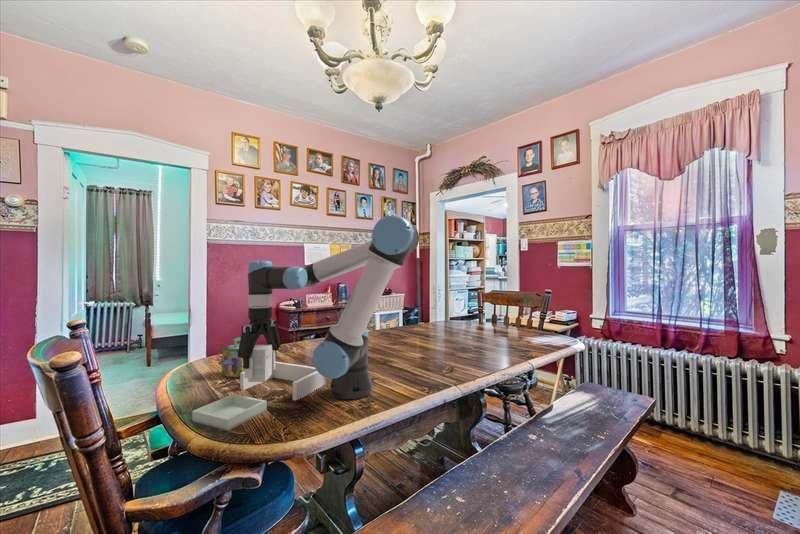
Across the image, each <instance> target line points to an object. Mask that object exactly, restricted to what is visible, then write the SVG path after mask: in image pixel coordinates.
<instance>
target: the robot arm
mask: <svg viewBox="0 0 800 534" xmlns="http://www.w3.org/2000/svg"><path fill="white" fill-rule="evenodd" d="M419 241H420V233H419V231H418V229H417V227H416V226H415V225H414V224H413V223H411V222H410V221H409V220H408V219H406V218H405V217H402V216H400V215H394V214H391V215H386V216H383V217H382V218H380V219H379V220H378V221H377V222H376V223H375V225H374V227H373V228H372V233H371V240H369V241H366V242H364V243H361V244H358V245H356V246H354V247H350V248H348V249H346V250H343V251H340V252H338V253H335V254H333V255H330V256H328V257H326V258H322V259H320V260H317V261H315V262H313V263H310V264H307V265H305V266H297V265H295V266H294V265H291V266H273V262H272V261H271V260H252V261H250V262H249V263H248V266H247V267H248V269H247V270H248V271H247V283H248V285H247V286H248V287H247V288H248V293H247V294H248V296H247V297H248V301H247V302H248V304H247V305H248V310H247V312H248V313H247V317H248V320H249V323H248V324H247V325H242V326H241V327H240V329H241V336H240V337H241V340H240V341H239V343H240V345H239V350H238V355H237V357H239V358H243V368H244V369H245V378H249V379H252V378H253V358H250V357H251V354H252V352H253V349H254V346H255V345H257V344H256V343H257V341H258V339H259V338H260V337H261V336H262V335H263V336H264V340H265V341H266V343H267V344H266V345H272V370H275V361H276V359H277V351H279V349H280V348H281V346H282V344H281V338H280V334H279V328H278V325H279V324H278V323H279V321H278V320H275V319H272V318H273V307H272V305H273V290H290V291H291V290H292V291H294V290H302V289H304V288H312V287H315V286H317V285H318V284H320V283H322V282H325V281H328V280H330V279H333V278H335V277H338V276H341V275H343V274H347V273H348V272H349V273H350V272H352V271H354V270H357V269H360V268H362V267H364V268H363V270H362V273H361V274H360V277H359V278H358V281H357V283H356V284H355V287H354V289H353V290H352V293H351V295H350V296H349V298H348V301H347V303H346V305H345V307H344V309H343V311H342V313H341V315H340V318H339V319H338V322H337V324H333V325H332V326H330V328H328V331H327V333H326V335H325V337H324V339H323V341H321V342H320V343H318V345H317V346H316V347H315V348H314V350H313V353H312V363H313V365H314V366H313V367H315V368H316V370H317V371H318V372H319V373H320V374H321V375H322V376H324V377H325V379H326V378H327V379H330V380H331V383H330V385H329V394H330V396H331V397H333V398H334V399H340V400H345V399H353V400H359V399H358V398H360V399H363V397H364V398H366V397H369V396H370V395H371V394H372V393H371V392H373V383H372V378H371V376H370V373H369V366H368V365H369V339H370V338H369V337H370V336H369V330H368V329H367V326H368V324H369V321H371V318H372V316H373V314H374V313H375V310H376V308H377V306H378V304H379V301H380V300H381V298H382V297H383V294H384V292H385V289H386V287H387V285H388V284H389V283H390V282H389V281H390V280H391V278H392V276H393V275H394V272H395V270H396V269H399V268H402V266H403V265H404V262H405V261H406V259H407V257H408V256H409V254H412V253H413V252H414V251H415V250H416V248H417V247H418V245H419V243H420V242H419ZM370 393H371V394H370ZM369 394H370V395H369ZM365 396H366V397H365Z"/></svg>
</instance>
